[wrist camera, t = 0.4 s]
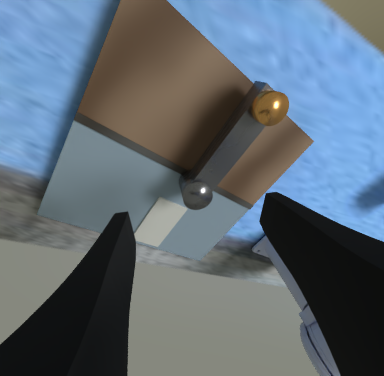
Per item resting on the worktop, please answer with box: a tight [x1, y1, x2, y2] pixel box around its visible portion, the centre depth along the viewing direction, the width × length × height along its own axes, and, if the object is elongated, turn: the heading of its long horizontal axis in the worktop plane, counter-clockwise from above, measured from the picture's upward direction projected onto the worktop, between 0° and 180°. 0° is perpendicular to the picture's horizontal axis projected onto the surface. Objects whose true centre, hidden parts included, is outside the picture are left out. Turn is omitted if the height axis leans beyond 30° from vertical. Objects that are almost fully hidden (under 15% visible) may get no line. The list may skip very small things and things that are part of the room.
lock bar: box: [179, 81, 289, 210], centre depth 15 cm, size 10×2×3 cm, turn 145°
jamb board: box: [74, 0, 314, 209], centre depth 16 cm, size 18×9×2 cm, turn 55°
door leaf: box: [37, 120, 249, 261], centre depth 20 cm, size 18×10×2 cm, turn 55°
